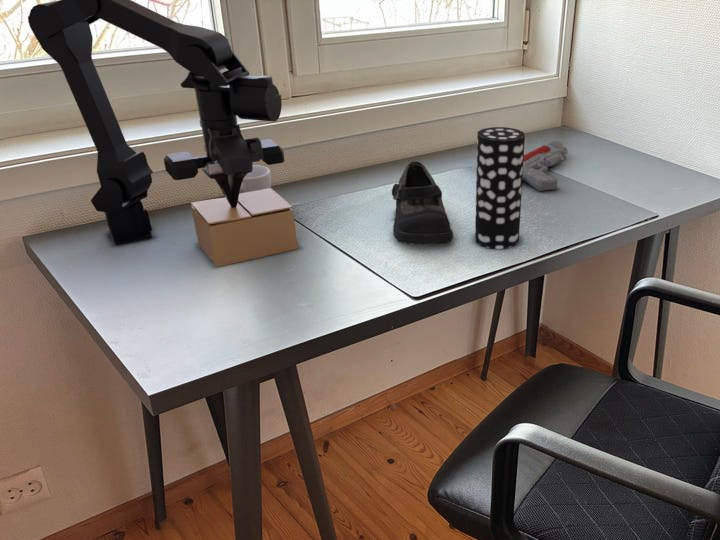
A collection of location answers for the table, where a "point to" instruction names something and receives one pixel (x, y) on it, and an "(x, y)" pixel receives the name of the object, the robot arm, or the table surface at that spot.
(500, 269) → the table surface
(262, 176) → the cup
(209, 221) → the flap
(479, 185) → the spotted tube
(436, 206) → the shoe
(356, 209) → the table surface
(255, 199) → the carton
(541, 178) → the toy gun
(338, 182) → the table surface
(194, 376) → the table surface
